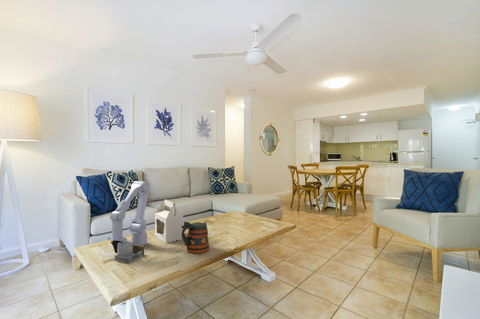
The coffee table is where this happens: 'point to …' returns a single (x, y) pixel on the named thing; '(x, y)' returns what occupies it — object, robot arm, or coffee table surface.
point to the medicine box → (125, 249)
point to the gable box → (168, 222)
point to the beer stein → (196, 237)
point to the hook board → (137, 252)
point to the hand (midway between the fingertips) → (117, 252)
